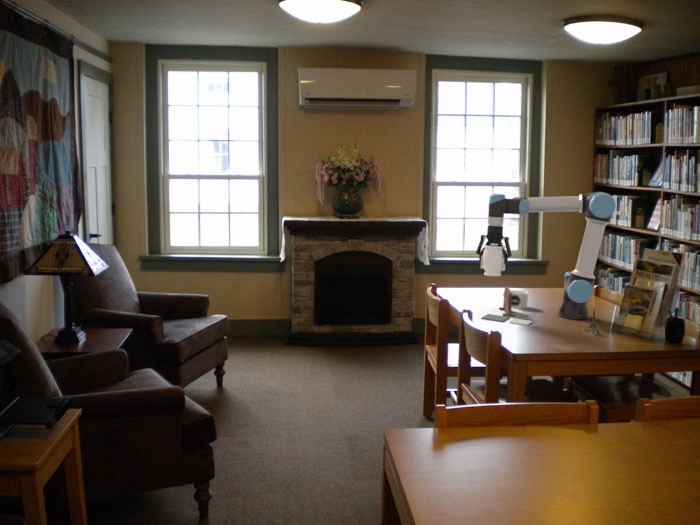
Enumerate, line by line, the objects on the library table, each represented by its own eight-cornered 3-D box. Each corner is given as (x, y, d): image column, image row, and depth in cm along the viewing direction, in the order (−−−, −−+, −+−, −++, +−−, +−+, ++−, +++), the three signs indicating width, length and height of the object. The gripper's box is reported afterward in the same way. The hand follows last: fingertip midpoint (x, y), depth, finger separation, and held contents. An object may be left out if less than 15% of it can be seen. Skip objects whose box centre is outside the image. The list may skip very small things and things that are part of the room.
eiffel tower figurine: (577, 329, 338) (580, 302, 336) (600, 331, 336) (602, 303, 334) (581, 337, 323) (584, 308, 321) (604, 339, 321) (607, 310, 319)
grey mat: (509, 318, 355) (509, 316, 354) (503, 322, 345) (503, 320, 345) (487, 315, 360) (488, 313, 359) (481, 319, 350) (481, 317, 350)
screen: (510, 309, 375) (512, 287, 374) (515, 316, 358) (516, 293, 356) (498, 308, 376) (500, 286, 374) (503, 316, 358) (504, 292, 356)
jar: (502, 274, 360) (504, 244, 358) (504, 277, 350) (506, 247, 348) (481, 273, 361) (483, 243, 359) (482, 276, 351) (484, 246, 349)
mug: (529, 306, 386) (530, 291, 385) (525, 309, 376) (526, 294, 375) (504, 303, 391) (505, 289, 390) (500, 306, 382) (501, 292, 381)
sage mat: (532, 322, 347) (532, 320, 347) (527, 325, 339) (527, 324, 339) (514, 319, 351) (514, 318, 351) (509, 323, 343) (509, 321, 343)
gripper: (520, 226, 350) (517, 270, 353) (476, 223, 361) (473, 266, 364) (515, 227, 343) (512, 272, 346) (470, 224, 355) (468, 267, 358)
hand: (492, 269), depth 355 cm, fingers closed on jar, 10 cm apart
